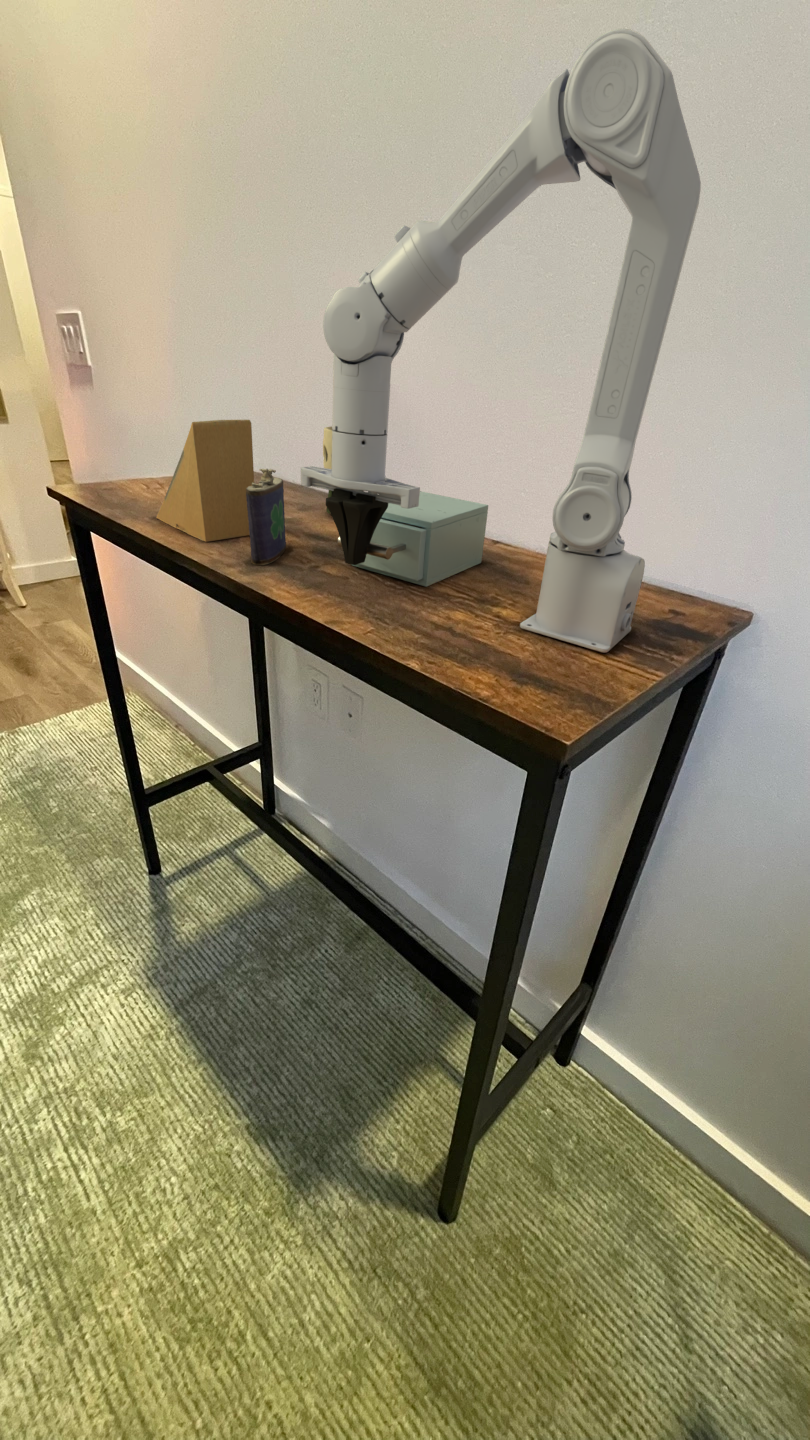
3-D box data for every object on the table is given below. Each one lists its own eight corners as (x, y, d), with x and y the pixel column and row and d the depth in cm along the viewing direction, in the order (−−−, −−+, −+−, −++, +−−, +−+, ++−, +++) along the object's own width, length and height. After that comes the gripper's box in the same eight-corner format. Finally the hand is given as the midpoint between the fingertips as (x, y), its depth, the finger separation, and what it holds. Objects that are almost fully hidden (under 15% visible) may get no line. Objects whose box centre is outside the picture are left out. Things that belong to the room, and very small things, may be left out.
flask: (271, 544, 87) (267, 461, 81) (291, 546, 87) (289, 463, 81) (247, 564, 79) (241, 473, 73) (269, 566, 79) (265, 476, 73)
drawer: (396, 589, 72) (398, 538, 69) (326, 569, 76) (326, 520, 73) (470, 558, 84) (475, 514, 81) (405, 542, 88) (408, 499, 85)
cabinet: (426, 587, 76) (431, 522, 72) (351, 565, 81) (352, 504, 77) (481, 562, 85) (488, 504, 82) (411, 545, 91) (414, 489, 87)
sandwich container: (206, 511, 100) (196, 406, 93) (259, 533, 91) (252, 419, 83) (154, 517, 95) (138, 407, 87) (204, 542, 86) (191, 421, 78)
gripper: (439, 439, 65) (427, 569, 72) (329, 422, 72) (327, 543, 78) (402, 442, 60) (392, 582, 66) (287, 424, 66) (288, 553, 73)
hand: (354, 562), depth 72 cm, fingers closed, pressing on drawer
